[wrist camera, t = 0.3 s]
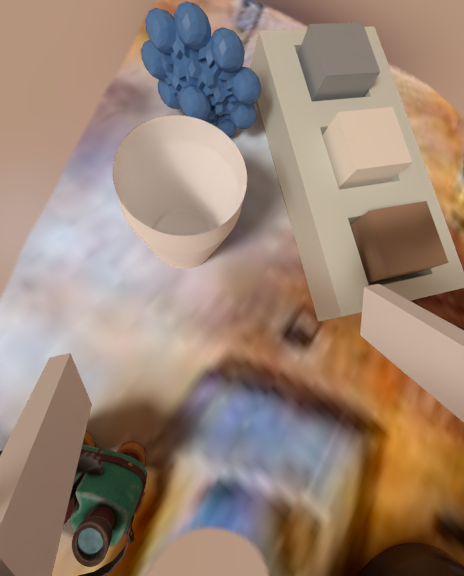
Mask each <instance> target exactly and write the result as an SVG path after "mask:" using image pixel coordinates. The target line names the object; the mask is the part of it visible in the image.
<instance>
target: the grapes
mask: <svg viewBox="0 0 464 576" xmlns="http://www.w3.org/2000/svg"><path fill="white" fill-rule="evenodd" d="M145 21H146V31H147V33H148V36H149V38H150V40H149V41H146V42H144V44H143V46H142V48H141V55H142V60H143V63H144V65H145V67H146V69H147V70H148V71H149V73H150V74H151V75H152V76H153V77H155V78H157V79H159V82H158V92H159V94H160V96H161V99H162V100H163V102H164V103H165V104H166V105H167V106H168V107H170V108H172V109H180V108H181V109H182V111H183V112H184V115H185V116H189V117H194V118H197V119H201V120H203V121H206V122H208V123H211V124H212V125H214V126H215V127H217V128H218V129H220V130H221V131H223V132H224V133H225V134H226V135H227V136H228V137H230V136H232V135H233V134H234V132H235V131H236V127H238V128H240V129H247V128H249V127H251V126H252V125H253V123H254V122H255V120H256V111H255V108H254V105H253V103H255V102H256V101H257V99H258V98H259V97H260V93H261V84H260V80H259V78H258V76H257V75H256V74H255V72H254V71H253V70H252V69H249V68H246V67H241V66H242V65H243V63H244V53H245V51H244V47H243V44H242V41H241V40H240V38H239V37H238V36H237V34H236V33H235V32H234V31H233V30H230V29H226V28H223V27H222V28H220V29H217V30H215V31H214V33H213V35H212V37H211V27H210V24H209V20H208V17H207V16H206V14H205V13H204V11H203V10H202V9H201V8H200V7H199V6H198V5H196V4H193V3H190V2H184V3H181V4H179V5H178V7H177V9H176V11H175V13H174V17H173V16H172V15H171V14H170V13H169V12H168V11H165V10H162V9H158V8H155V9H153V10H150V11H149V12H148V15H147V17H146V19H145Z"/></svg>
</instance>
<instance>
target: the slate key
mask: <svg viewBox="0 0 464 576" xmlns="http://www.w3.org/2000/svg"><path fill="white" fill-rule="evenodd" d="M298 58H299V62H300V65H301V68H302V71H303V75H304V78H305V81H306V84H307V87H308V91H309V94H310V97H311V100H312V101H324V100H336V99H348V98H360V97H363V96H364V95H365V93H366V92H367V90H368V89H369V88H370V86H371V85H372V83H373V82H374V80H375V79H376V78H377V76H378V75H379V73H380V70H379V67H378V64H377V61H376V58H375V56H374V53H373V50H372V47H371V44H370V42H369V39H368V36H367V33H366V30H365V28H364V25H363V23H332V24H309V26H308V29H307V31H306V34H305V37H304V39H303V42H302V44H301V47H300V50H299V52H298Z"/></svg>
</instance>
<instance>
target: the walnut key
mask: <svg viewBox="0 0 464 576" xmlns="http://www.w3.org/2000/svg"><path fill="white" fill-rule="evenodd" d="M350 226H351V229H352V233H353V236H354V239H355V242H356V246H357V249H358V252H359V255H360V259H361V262H362V265H363V268H364V271H365V275H366V278H367V281H368V284H370V283H374V282H379V281H383V280H388V279H393V278H397V277H402V276H406V275H411V274H415V273H418V272H422V271H425V270H428V269H431V268H434V267H437V266H440V265H443V264H446V263H449V262H448V260H447V257H446V254H445V251H444V248H443V246H442V243H441V240H440V237H439V234H438V232H437V229H436V226H435V223H434V220H433V218H432V215H431V212H430V209H429V206H428V204H427V201H423V202H417V203H411V204H405V205H399V206H393V207H387V208H381V209H375V210H369V211H368V212H367V213H365V214H364V215H363V216H361V217H360V218H359V219H357V220H356V221H355V222H353V223H352V224H351V225H350Z"/></svg>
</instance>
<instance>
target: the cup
mask: <svg viewBox="0 0 464 576" xmlns="http://www.w3.org/2000/svg"><path fill="white" fill-rule="evenodd" d="M113 181H114V185H115V189H116V192H117V195H118V199H119V202H120V206H121V210H122V212H123V215H124V217H125V219H126V221H127V222H128V224H129V226H130V227H131V228H132V230H133V231H134V232H135V233H136V234H137V236H138V237H139V238H140V239H141V240H142V241H143V242H144V243H145V244H146V245H147V246H148V247H149V248H150V249H151V250H152V252H153V253H154V254H155V255H156V256H157V257H158V258H159V259H160V260H161V261H162V262H164V263H165V264H167V265H169V266H171V267H174V268H179V269H188V268H193V267H196V266H198V265H200V264H202V263H203V262H205V261H206V260H207V259H208V258H209V256H210V255H211V254H212V253H213V252H214V251H215V250H216V249H217V247H218V246H219V245H220V244H221V243H222V242H223V241H224V239H225V238H226V237H227V236H228V235H229V234H230V232H231V231H232V229H233V228H234V226H235V224H236V223H237V221H238V218H239V216H240V212H241V208H242V203H243V199H244V196H245V192H246V188H247V171H246V166H245V163H244V160H243V157H242V155H241V153H240V151H239V149H238V148H237V146H236V145H235V144H234V142H233V141H232V140H231V139H230V138H229V137H228V136H227V135H226V134H225V133H224V132H223V131H221V130H220V129H218V128H217V127H215V126H214V125H212V124H210V123H208V122H206V121H203V120H201V119H197V118H194V117H189V116H180V115H172V116H163V117H158V118H155V119H152V120H149V121H147V122H145V123H143V124H141V125H139V126H138V127H136V128H135V129H134V130H132V131H131V132H130V133H129V134H128V135H127V136H126V137H125V139H124V140H123V141H122V143H121V144H120V146H119V148H118V150H117V152H116V155H115V158H114V163H113Z"/></svg>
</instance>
